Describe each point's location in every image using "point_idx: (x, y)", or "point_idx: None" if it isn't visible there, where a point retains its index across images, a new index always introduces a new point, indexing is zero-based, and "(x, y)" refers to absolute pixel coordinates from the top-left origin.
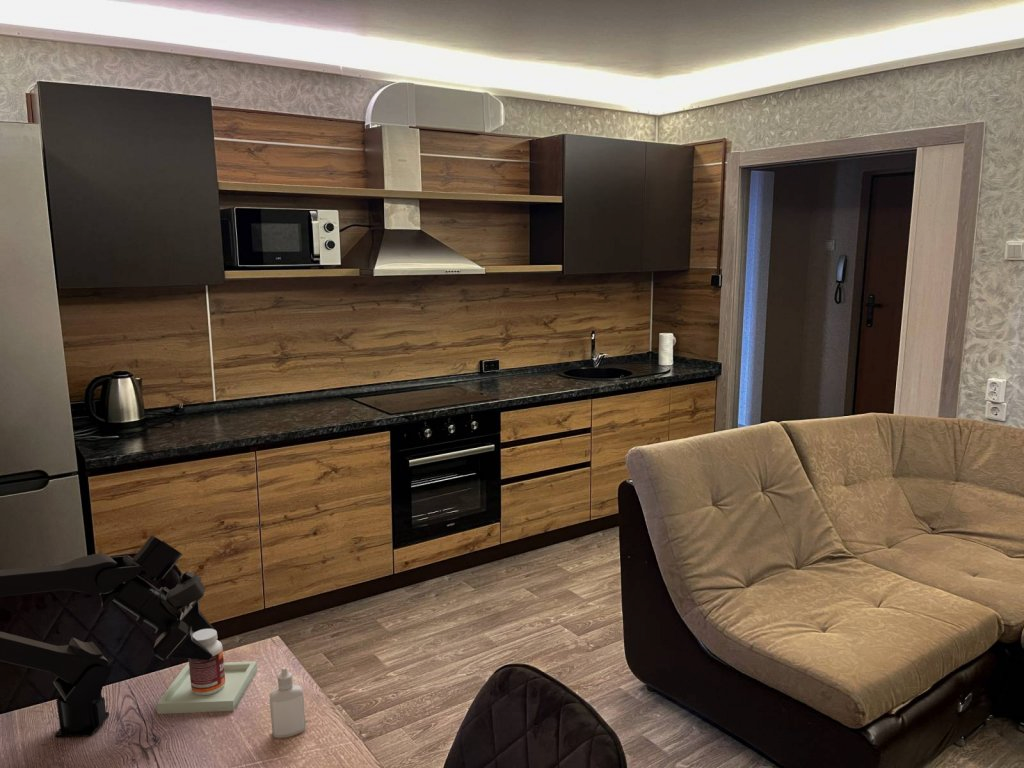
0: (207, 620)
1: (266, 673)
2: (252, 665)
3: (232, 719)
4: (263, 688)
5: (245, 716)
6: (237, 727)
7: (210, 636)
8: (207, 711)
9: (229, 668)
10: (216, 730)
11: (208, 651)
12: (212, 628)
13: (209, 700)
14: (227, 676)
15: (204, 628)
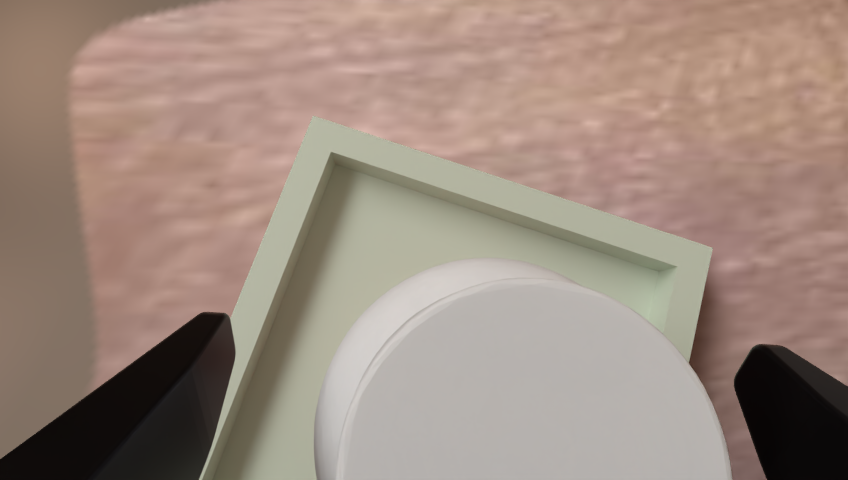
0: (21, 445)
1: (372, 99)
2: (355, 140)
3: (750, 265)
4: (516, 120)
5: (740, 207)
6: (821, 243)
7: (654, 366)
8: None
9: (290, 274)
10: (823, 337)
11: (822, 385)
12: (189, 359)
13: None
14: (360, 287)
15: (161, 477)
